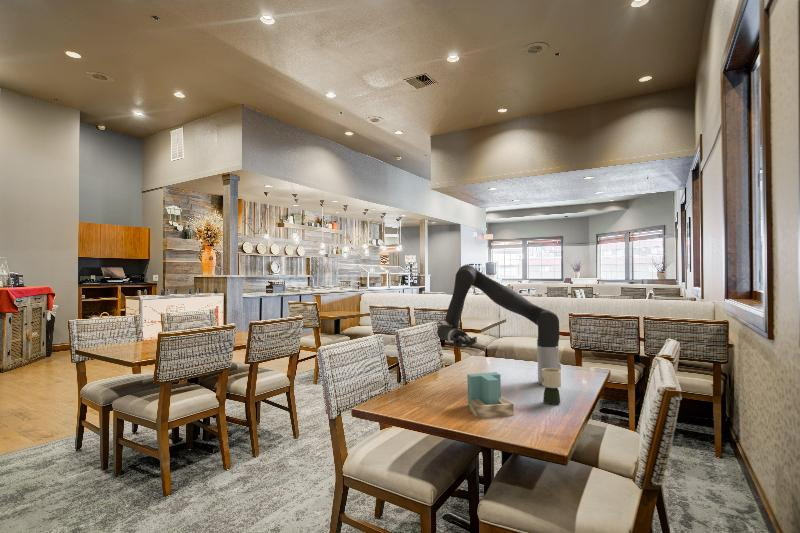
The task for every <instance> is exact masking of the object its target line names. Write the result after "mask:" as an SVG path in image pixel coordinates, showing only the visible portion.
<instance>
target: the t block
mask: <svg viewBox="0 0 800 533" xmlns="http://www.w3.org/2000/svg"><path fill="white" fill-rule="evenodd" d="M466 376H467V405H468V407H470V400H475V399H479V400H480V401H482V402H483V403H484V404H485V405H491V404H499V398H502V396H501V395H502V390H501V388H502V387H501V386H502V385H501V381H502V380H501V374H500V373H498V372H496V371H495V372H482V373H481V372H480V373H469V374H466Z"/></svg>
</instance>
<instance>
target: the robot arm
mask: <svg viewBox="0 0 800 533" xmlns="http://www.w3.org/2000/svg"><path fill="white" fill-rule="evenodd" d="M472 286H473V287H475V288H477V289H478V290H480V291H482V292H483V293H484V294H485V295H486V296H487V297H488V298H489V299H490V300H491V301H492V302H493V303H495V304H496V305H498V306H500V307H501V308H504V309H505V310H508V311H509V312H511V313H515V314H516V315H520V316H522V317H523V318H525V319H527V320H529V321H530V322H531V323H533V324H535V325H536V326H537V334H538V335H537V339H536V340H537V341H536V347H537V348H536V353H537V354H536V355H537V383H538V384H539V385H542V369H543V368H555V369H559V370H561V371H562V366H561V365H562V364H561V363H560V356H559V350H560V349H559V348H560V347H559V341H560V319H559V317H558V315H557V314H556V313H554V312H553V311H551V310H548V309H546V308H543V307H540V306H538V305H537V304H534V303H532V302H531V301H529V300H528V299H527V298H525V297H524V296H523V295H521V294H519V293H518V292H516V291H515V290H513V289H511V288H509V287H508V286H505V285H504V284H502V283H500V282H498V281H496V280H495V279H492V278H490V277H489V276H486V275H485V274H484V273H482V272H481V271H479V270H478V269H476V268H475V267H473V266H472V265H470V264H469V265H468V264H465V265H462V266H460V267H459V268H458V270H457V272H456V273H455V280H454V286H453V287H454V288H453V293H452V295H451V300H450V302H449V303H448V304H449V305H448V308H447V311H446V314H445V317H444V319H445V322H446V323H447V324H448V325H447V324H441V325H440V326H439V327H438V328H437V330H436V334H437V336H438V337H437V338H439V339H440V340H443V341H447V342H449V344H450V345H454V346H455V347H457V348H464V347H465V346H466V347H472V346H473V345H475V344H477V343H478V337H477V336H473V337H471V336H469V335H468V333H466V331H464V330H461V329H460V328H459V324H460V320H461V316H462V313H463V310H464V305H465V300H466V298H467V295H468V293H469V291H470V289H471V287H472Z"/></svg>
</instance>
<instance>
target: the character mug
mask: <svg viewBox="0 0 800 533" xmlns="http://www.w3.org/2000/svg"><path fill="white" fill-rule="evenodd" d="M541 385H542V386H543V387H544V390H543V397H542V398H543V402H544V403H546V404H550V405H553V404H556V405H557V404H561V396H560V390H559V388H561V387H562V369H561V370H559V369H555V368H543V369H542V384H541Z"/></svg>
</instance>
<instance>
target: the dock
mask: <svg viewBox="0 0 800 533" xmlns="http://www.w3.org/2000/svg"><path fill="white" fill-rule="evenodd" d="M514 408H515V406H514V403H512V402H511V401H510V400H508V399H507V398H505V397H503V396H501V398H499V404H491V405H485V404H484V403H483V402H482V401H480V400H479V399H475V400H470V406H469V411H470V412H471V413H472V414H473V415H474V416H475V417H476V418H478V419H485V417H487V418H495V417H496V418H498V417H499V418H501V417H510V416H511V415H512V416H514V415H515V411H514Z"/></svg>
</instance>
